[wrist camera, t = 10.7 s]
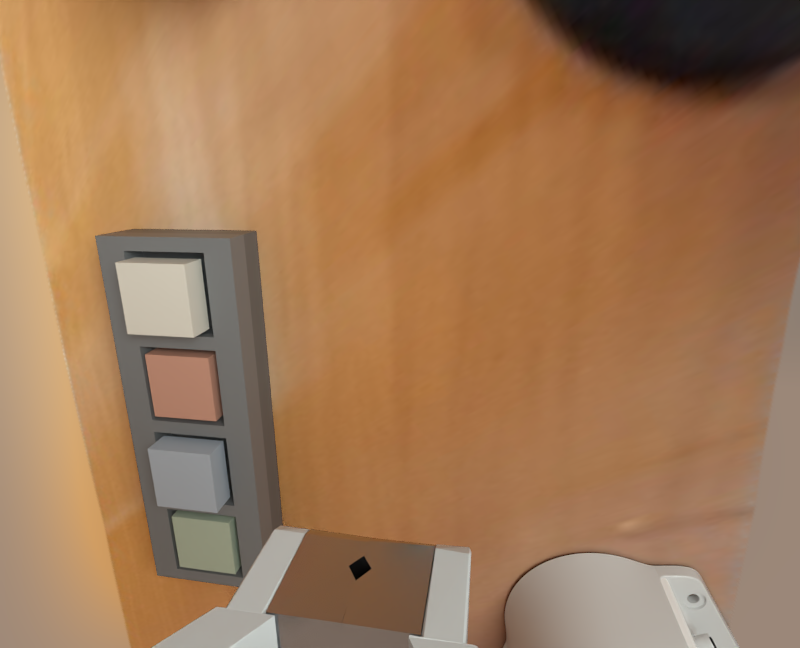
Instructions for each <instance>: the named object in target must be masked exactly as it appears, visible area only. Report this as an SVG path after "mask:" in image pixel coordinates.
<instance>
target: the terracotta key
mask: <svg viewBox="0 0 800 648" xmlns="http://www.w3.org/2000/svg"><path fill="white" fill-rule="evenodd" d="M145 359H146V365H147V371H148V377H149V383H150V389H151V395H152V401H153V407H154V413H155V416H158V417H170V418H182V419H194V420H206V421H217V420H218V419H219V418H220V417H221V416H222V415H223V409H222V401H221V393H220V384H219V376H218V368H217V360H216V352H215V351H209V350H192V349H175V348H158V347H157V348H156V349H154V350H152V351H150V352H148V353H146V354H145Z"/></svg>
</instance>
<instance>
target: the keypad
mask: <svg viewBox="0 0 800 648" xmlns="http://www.w3.org/2000/svg"><path fill="white" fill-rule="evenodd" d="M95 238H96V243H97V249H98V254H99V259H100V265H101V270H102V276H103V281H104V287H105V292H106V298H107V303H108V309H109V314H110V319H111V325H112V330H113V336H114V341H115V347H116V352H117V358H118V363H119V369H120V374H121V380H122V385H123V390H124V396H125V401H126V407H127V412H128V418H129V423H130V429H131V434H132V440H133V445H134V450H135V456H136V461H137V467H138V472H139V478H140V483H141V489H142V494H143V500H144V505H145V511H146V516H147V521H148V527H149V532H150V538H151V543H152V549H153V554H154V560H155V565H156V571H157V575H158V576H166V577H173V578H180V579H187V580H194V581H201V582H208V583H215V584H222V585H229V586H236V587H239V586H240V584H241V583H242V581H243V579H244V578H245V576H246V574H247V573H248V571H249V569H250V568H251V566H252V564H253V563H254V561H255V560H256V558H257V556H258V555H259V553H260V551H261V550H262V548H263V546H264V545H265V543H266V541H267V540H268V538H269V536H270V535H271V533H272V532H273V531H274V530H275V529H276V528H278V527H279V526H280V525H282V526H283V523H282V512H281V501H280V490H279V478H278V467H277V456H276V445H275V434H274V423H273V412H272V401H271V390H270V378H269V367H268V356H267V345H266V334H265V323H264V312H263V301H262V290H261V278H260V267H259V256H258V245H257V234H256V231H234V230H169V229H131V230H125V231H119V232H114V233H108V234H103V235H97V236H95ZM134 257H143V258H182V259H201V265H202V273H203V281H204V289H205V297H206V305H207V313H208V321H209V329H208V330H206V331H205V332H203V333H201V334H200V335H198V336H196V337H194V338H190V337H171V336H153V335H134V334H127V328H126V322H125V316H124V311H123V305H122V299H121V294H120V288H119V282H118V276H117V271H116V265H115V262H119V261H123V260H127V259H130V258H134ZM157 347H158V348H175V349H192V350H209V351H215V352H216V360H217V368H218V376H219V384H220V393H221V401H222V409H223V415H222V416H221V417H220V418H219V419H218V420H217V421H206V420H194V419H182V418H170V417H158V416H155V413H154V407H153V401H152V395H151V389H150V383H149V377H148V371H147V365H146V359H145V354H146V353H148V352H150V351H152V350H154V349H156V348H157ZM163 436H174V437H185V438H196V439H207V440H218V441H223V443H224V451H225V459H226V467H227V475H228V483H229V491H230V498H229V499H228V500H227V502H226V503H225V504H224V505H223V507H222V508H221V509H220V510H219V512H218V513H213V512H204V511H195V510H187V509H178V508H170V507H161V506H157V500H156V494H155V489H154V483H153V477H152V472H151V466H150V460H149V454H148V448H149V447H151V446H152V445H153V444H154V443H155V442H157V441H158V440H159V439H160V438H162V437H163ZM177 510H182V511H190V512H199V513H207V514H216V515H224V516H233V517H236V524H237V532H238V540H239V549H240V557H241V566H240V568H239V570H238V571H237V573H236V574H229V573H222V572H215V571H207V570H200V569H193V568H186V567H180V564H179V558H178V552H177V546H176V540H175V534H174V528H173V522H172V516H173V514H174V513H175V512H176V511H177Z"/></svg>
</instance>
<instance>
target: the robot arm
mask: <svg viewBox="0 0 800 648" xmlns="http://www.w3.org/2000/svg"><path fill="white" fill-rule="evenodd" d="M470 567H471V550H470V548H469V547H460V546H450V545H439V544H437V545H432V544H423V543H414V542H405V541H396V540H387V539H378V538H370V537H363V536H356V535H349V534H342V533H335V532H328V531H321V530H314V529H311V530H308V529H303V528H296V527H289V526H282V525H280V526H279V527H278V528H276V529H275V530H274V531H273V532H272V533H271V535H270V536H269V538H268V540H267V541H266V543H265V545H264V546H263V548H262V550H261V551H260V553H259V555H258V556H257V558H256V560H255V561H254V563H253V564H252V566H251V568H250V569H249V571H248V573H247V574H246V576H245V578H244V579H243V581H242V583H241V584H240V586H239V588H238V589H237V591H236V592H235V594H234V596H233V597H232V599H231V601H230V602H229V604H228V606H227V607H226V608H222V607H215V608H213V609H212V610H210V611H209V612H207V613H206V614H204V615H202V616H201V617H199V618H198V619H196V620H194V621H193V622H191V623H190V624H188V625H186V626H185V627H183V628H182V629H180V630H179V631H177V632H175V633H174V634H172V635H171V636H169V637H167V638H166V639H164V640H163V641H161V642H159V643H158V644H156V645H155V646H153V647H151V648H478V646H476V645H471V644H467V637H468V614H469V591H470ZM691 594H694V595H692V596H689V595H691ZM505 627H506V642H505V644H504V647H503V648H740V647H739V645H738V644H737V642H736V640H735V638H734V636H733V634H732V633H731V631H730V629H729V627H728V625H727V623H726V622H725V620H724V618H723V616H722V614H721V612H720V610H719V609H718V607H717V605H716V603H715V601H714V599H713V598H712V596H711V594H710V592H709V590H708V588H707V587H706V585H705V583H704V581H703V579H702V577H701V576H700V574H699V573H698V572H697V571H696V570H694V569H692V568H689V567H685V566H652V565H647V564H643V563H640V562H637V561H633V560H630V559H627V558H624V557H620V556H615V555H609V554H601V553H580V554H572V555H566V556H562V557H558V558H555V559H552V560H549V561H547V562H545V563H543V564H541V565H539V566H537V567H535V568H534V569H532V570H531V571H529V572H528V573H527V574H526V575H524V576H523V577H522V578H521V579H520V580H519V581H518V583H517V584H516V585H515V587H514V588H513V590H512V591H511V593H510V595H509V597H508V600H507V603H506V607H505Z"/></svg>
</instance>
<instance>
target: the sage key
mask: <svg viewBox="0 0 800 648" xmlns="http://www.w3.org/2000/svg"><path fill="white" fill-rule="evenodd" d="M172 522H173V528H174V534H175V540H176V546H177V552H178V558H179V564H180V567H186V568H193V569H200V570H207V571H215V572H222V573H229V574H236V573H237V571H238V570H239V568H240V566H241V557H240V549H239V540H238V532H237V524H236V517H233V516H224V515H216V514H207V513H199V512H190V511H182V510H177V511H176V512H175V513H174V514H173V516H172Z"/></svg>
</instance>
